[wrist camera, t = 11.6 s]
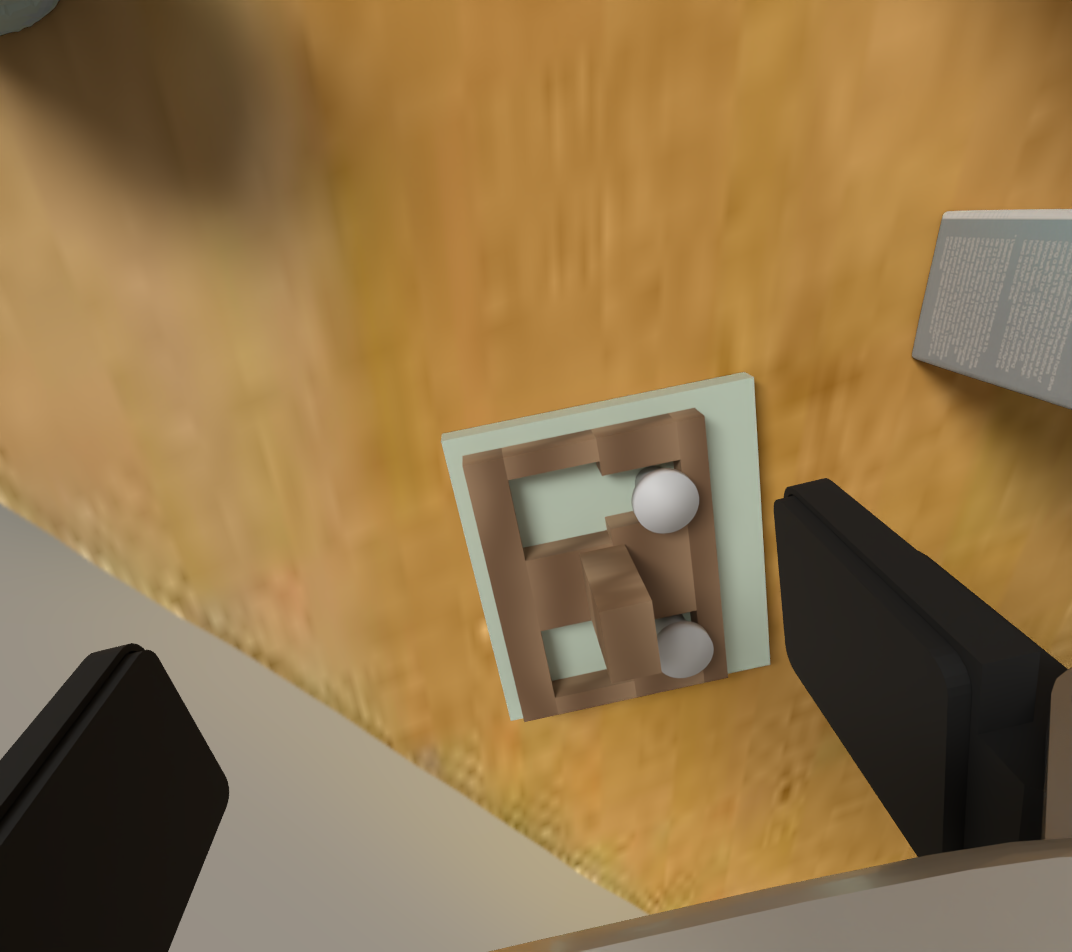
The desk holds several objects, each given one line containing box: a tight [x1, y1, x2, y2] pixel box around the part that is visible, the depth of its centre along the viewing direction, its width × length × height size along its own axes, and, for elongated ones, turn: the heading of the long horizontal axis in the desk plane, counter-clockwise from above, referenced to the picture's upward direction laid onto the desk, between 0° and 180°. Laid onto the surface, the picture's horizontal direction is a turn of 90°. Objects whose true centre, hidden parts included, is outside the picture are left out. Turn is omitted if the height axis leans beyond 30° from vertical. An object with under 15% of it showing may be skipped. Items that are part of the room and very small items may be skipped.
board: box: [441, 372, 770, 721], centre depth 36 cm, size 16×18×4 cm
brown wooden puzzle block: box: [462, 408, 728, 722], centre depth 34 cm, size 12×16×7 cm
